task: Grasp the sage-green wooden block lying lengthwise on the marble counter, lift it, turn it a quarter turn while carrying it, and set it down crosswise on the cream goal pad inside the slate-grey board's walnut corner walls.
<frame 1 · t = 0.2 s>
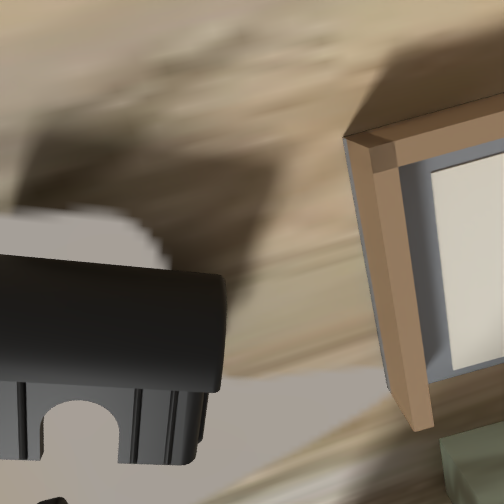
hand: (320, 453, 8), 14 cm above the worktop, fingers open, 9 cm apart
end cap: (112, 305, 23), on the worktop
arena: (502, 238, 23), on the worktop
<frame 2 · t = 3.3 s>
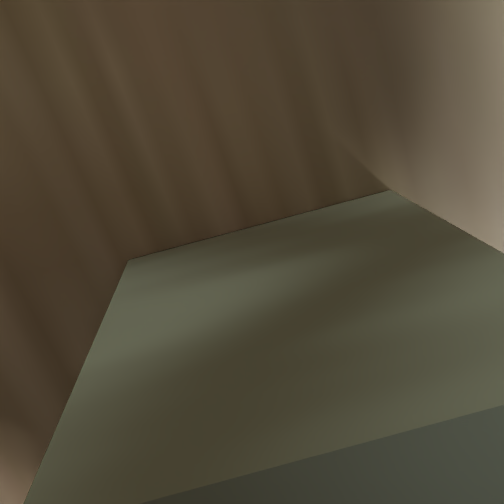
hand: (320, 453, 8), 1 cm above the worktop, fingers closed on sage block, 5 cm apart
sage block: (307, 413, 9), on the worktop, touching gripper
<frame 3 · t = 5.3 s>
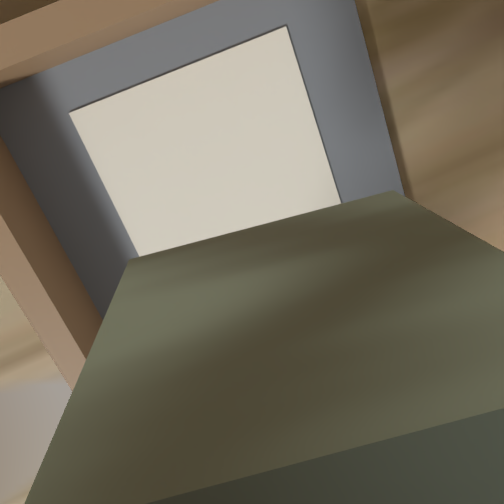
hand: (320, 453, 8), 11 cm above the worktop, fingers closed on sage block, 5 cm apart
arena: (212, 192, 18), on the worktop
sage block: (308, 414, 9), point 10 cm above the worktop, touching gripper
when the fingers open (4 cm above the worktop, at t = 7.6 s): sage block drops 2 cm, resting on arena.
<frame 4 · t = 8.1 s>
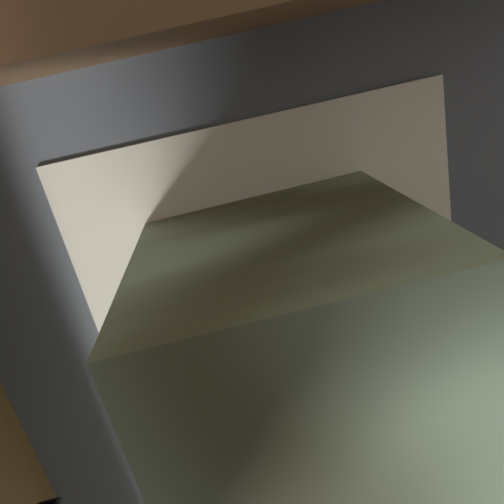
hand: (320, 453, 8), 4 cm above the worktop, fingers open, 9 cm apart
arena: (258, 313, 11), on the worktop
sage block: (290, 359, 11), point 1 cm above the worktop, touching arena
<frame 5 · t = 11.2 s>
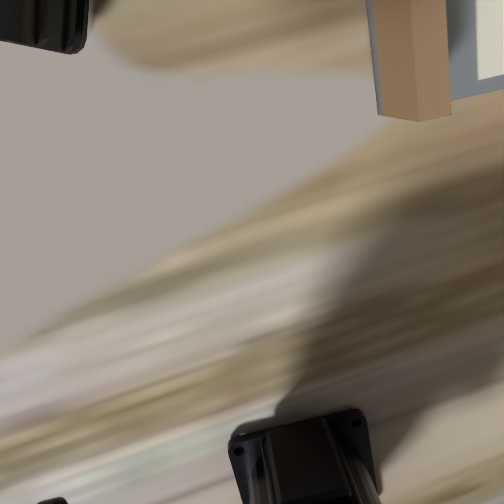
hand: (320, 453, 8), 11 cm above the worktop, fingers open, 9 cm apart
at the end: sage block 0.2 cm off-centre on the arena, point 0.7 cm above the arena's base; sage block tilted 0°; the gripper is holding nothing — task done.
